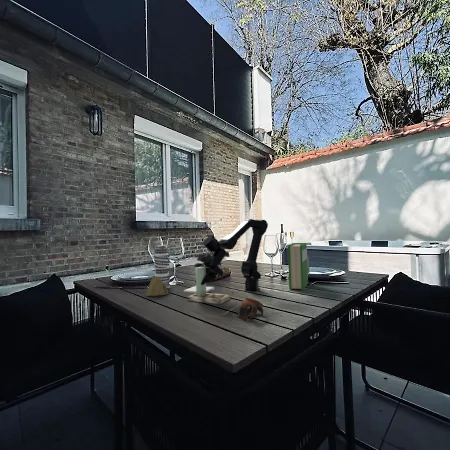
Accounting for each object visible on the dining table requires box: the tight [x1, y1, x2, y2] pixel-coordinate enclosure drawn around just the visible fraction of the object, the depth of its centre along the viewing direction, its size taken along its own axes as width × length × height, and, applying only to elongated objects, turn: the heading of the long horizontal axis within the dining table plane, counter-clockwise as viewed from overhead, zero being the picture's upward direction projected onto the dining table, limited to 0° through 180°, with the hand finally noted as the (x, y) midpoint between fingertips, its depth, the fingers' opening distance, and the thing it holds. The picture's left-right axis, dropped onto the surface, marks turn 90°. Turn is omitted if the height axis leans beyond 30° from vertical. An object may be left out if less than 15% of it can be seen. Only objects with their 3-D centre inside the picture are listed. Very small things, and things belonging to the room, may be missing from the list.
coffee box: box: [307, 252, 310, 274], centre depth 185 cm, size 9×6×16 cm
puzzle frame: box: [187, 292, 231, 305], centre depth 137 cm, size 17×9×2 cm, turn 64°
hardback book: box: [287, 242, 309, 291], centre depth 162 cm, size 18×7×24 cm, turn 157°
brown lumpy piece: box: [237, 297, 264, 321], centre depth 111 cm, size 12×10×8 cm
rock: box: [145, 275, 169, 297], centre depth 153 cm, size 11×9×10 cm
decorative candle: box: [153, 244, 171, 289], centre depth 171 cm, size 9×9×25 cm
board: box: [183, 285, 215, 294], centre depth 158 cm, size 12×12×2 cm
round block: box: [194, 267, 207, 297], centre depth 139 cm, size 5×5×14 cm
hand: (198, 283), depth 138 cm, fingers closed on round block, 5 cm apart
